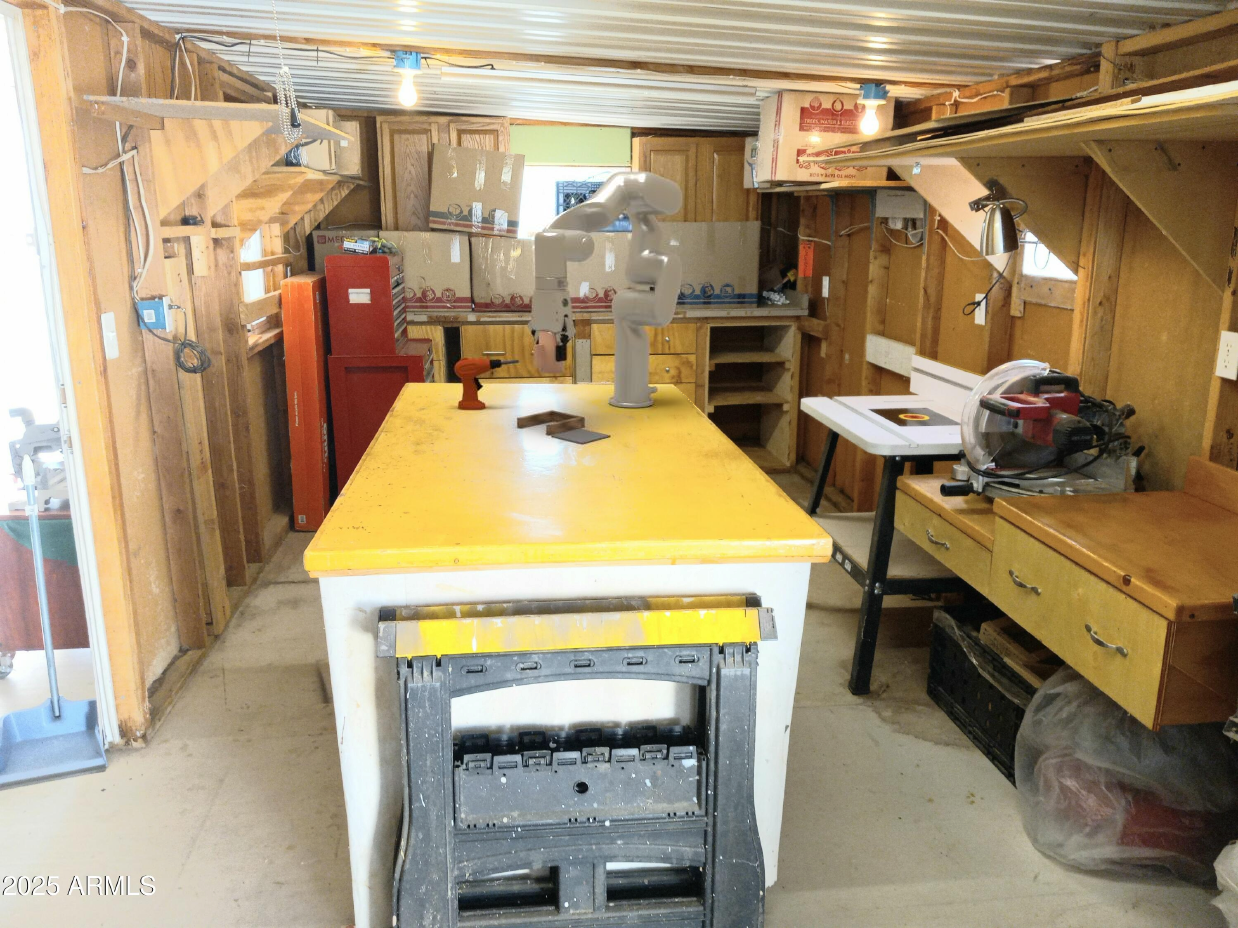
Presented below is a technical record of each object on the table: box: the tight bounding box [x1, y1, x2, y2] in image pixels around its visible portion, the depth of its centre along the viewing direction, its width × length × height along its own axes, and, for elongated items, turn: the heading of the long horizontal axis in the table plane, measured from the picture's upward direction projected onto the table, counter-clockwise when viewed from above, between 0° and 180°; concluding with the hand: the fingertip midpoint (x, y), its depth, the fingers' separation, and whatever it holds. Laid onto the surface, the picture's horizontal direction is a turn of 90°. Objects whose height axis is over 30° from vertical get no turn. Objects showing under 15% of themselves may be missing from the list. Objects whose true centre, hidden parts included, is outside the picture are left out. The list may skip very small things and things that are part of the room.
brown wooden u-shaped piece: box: [516, 409, 586, 436], centre depth 229 cm, size 12×11×2 cm
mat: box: [550, 428, 611, 445], centre depth 220 cm, size 10×10×1 cm
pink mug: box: [532, 330, 565, 375], centre depth 223 cm, size 8×6×10 cm
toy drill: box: [453, 356, 520, 411], centre depth 248 cm, size 5×18×14 cm, turn 96°
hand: (551, 358), depth 225 cm, fingers closed on pink mug, 6 cm apart
